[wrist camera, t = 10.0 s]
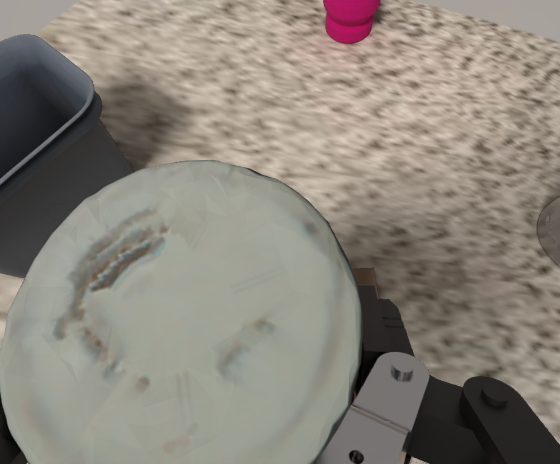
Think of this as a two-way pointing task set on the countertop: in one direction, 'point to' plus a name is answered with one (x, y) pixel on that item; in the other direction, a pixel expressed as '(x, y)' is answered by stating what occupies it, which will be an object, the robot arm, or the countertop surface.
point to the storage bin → (47, 147)
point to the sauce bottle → (184, 326)
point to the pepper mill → (349, 19)
